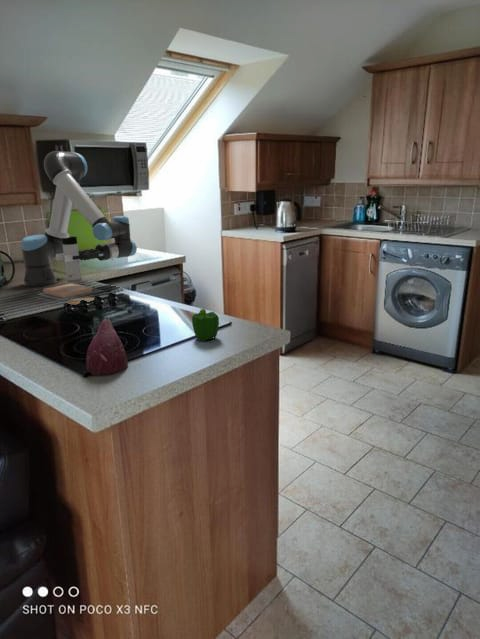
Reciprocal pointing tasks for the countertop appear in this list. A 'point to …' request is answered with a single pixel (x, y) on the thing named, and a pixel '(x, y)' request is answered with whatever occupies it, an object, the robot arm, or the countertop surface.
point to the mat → (69, 297)
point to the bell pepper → (205, 324)
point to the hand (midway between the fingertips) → (60, 258)
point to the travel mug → (73, 266)
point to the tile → (67, 290)
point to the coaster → (77, 300)
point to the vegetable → (106, 352)
